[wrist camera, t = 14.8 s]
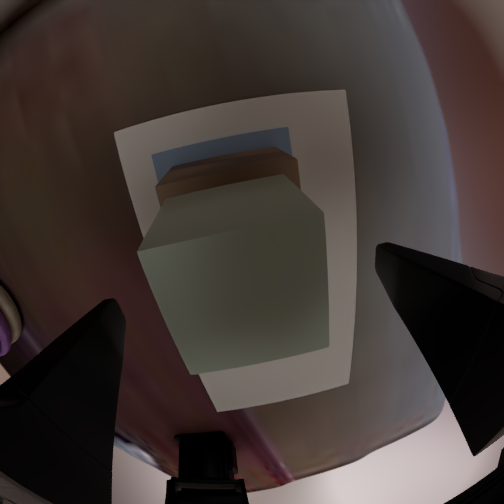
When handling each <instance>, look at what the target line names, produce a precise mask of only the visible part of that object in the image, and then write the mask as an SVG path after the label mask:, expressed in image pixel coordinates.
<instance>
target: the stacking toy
mask: <svg viewBox="0 0 504 504" xmlns="http://www.w3.org/2000/svg"><path fill="white" fill-rule="evenodd" d="M21 329H22V325H21V319H20V315H19V312H18V310H17V308H16V305H15V304H14V302H13V300H12V299H11V297H10V296H9V294H8V293H7V292H6V291H5V289H4V288H3V287H2V286H1V285H0V356H3V355H5V354H6V353H7V352H8V351H9V349H10V347H11V344H12V343H14V342H15V341H16V340H17V339H18V338H19V336H20V334H21Z"/></svg>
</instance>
